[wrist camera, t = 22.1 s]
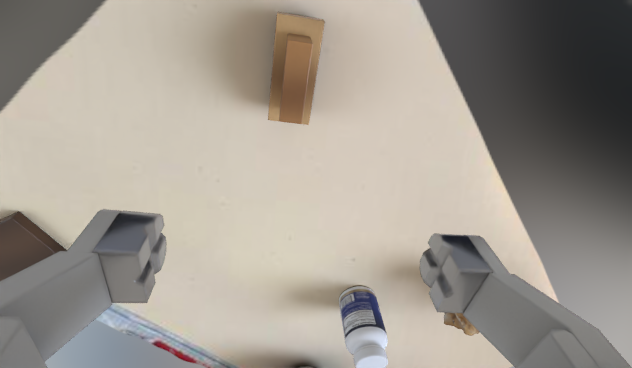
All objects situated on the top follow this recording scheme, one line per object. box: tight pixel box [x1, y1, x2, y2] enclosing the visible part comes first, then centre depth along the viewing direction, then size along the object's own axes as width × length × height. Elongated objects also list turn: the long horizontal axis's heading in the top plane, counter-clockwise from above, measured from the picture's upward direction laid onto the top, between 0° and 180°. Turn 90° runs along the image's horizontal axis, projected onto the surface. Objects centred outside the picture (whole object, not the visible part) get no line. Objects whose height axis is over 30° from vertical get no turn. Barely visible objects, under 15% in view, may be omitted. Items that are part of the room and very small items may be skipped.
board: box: [0, 212, 67, 281], centre depth 37 cm, size 10×10×1 cm
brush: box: [268, 12, 325, 125], centre depth 26 cm, size 8×4×6 cm, turn 171°
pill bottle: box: [339, 286, 388, 368], centre depth 43 cm, size 5×5×10 cm
